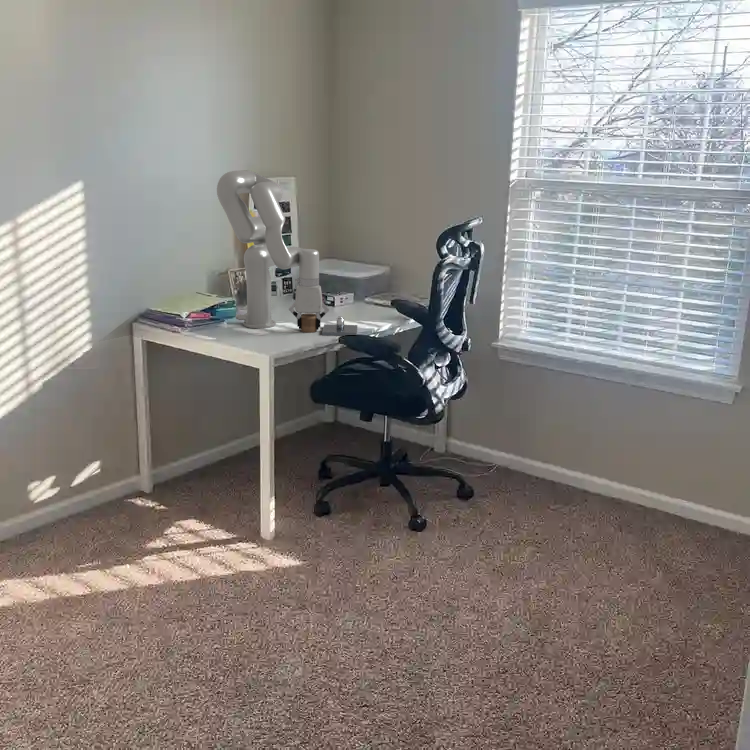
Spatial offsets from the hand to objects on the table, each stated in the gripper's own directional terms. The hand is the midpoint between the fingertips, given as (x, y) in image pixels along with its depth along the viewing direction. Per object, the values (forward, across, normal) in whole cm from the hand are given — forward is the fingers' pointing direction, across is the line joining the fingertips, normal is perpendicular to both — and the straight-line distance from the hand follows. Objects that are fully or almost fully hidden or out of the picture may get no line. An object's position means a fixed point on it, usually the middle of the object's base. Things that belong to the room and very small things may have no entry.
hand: (308, 328), depth 316 cm
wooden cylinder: (+1, 0, 0) cm, 1 cm away
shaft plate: (+1, +12, 0) cm, 12 cm away
